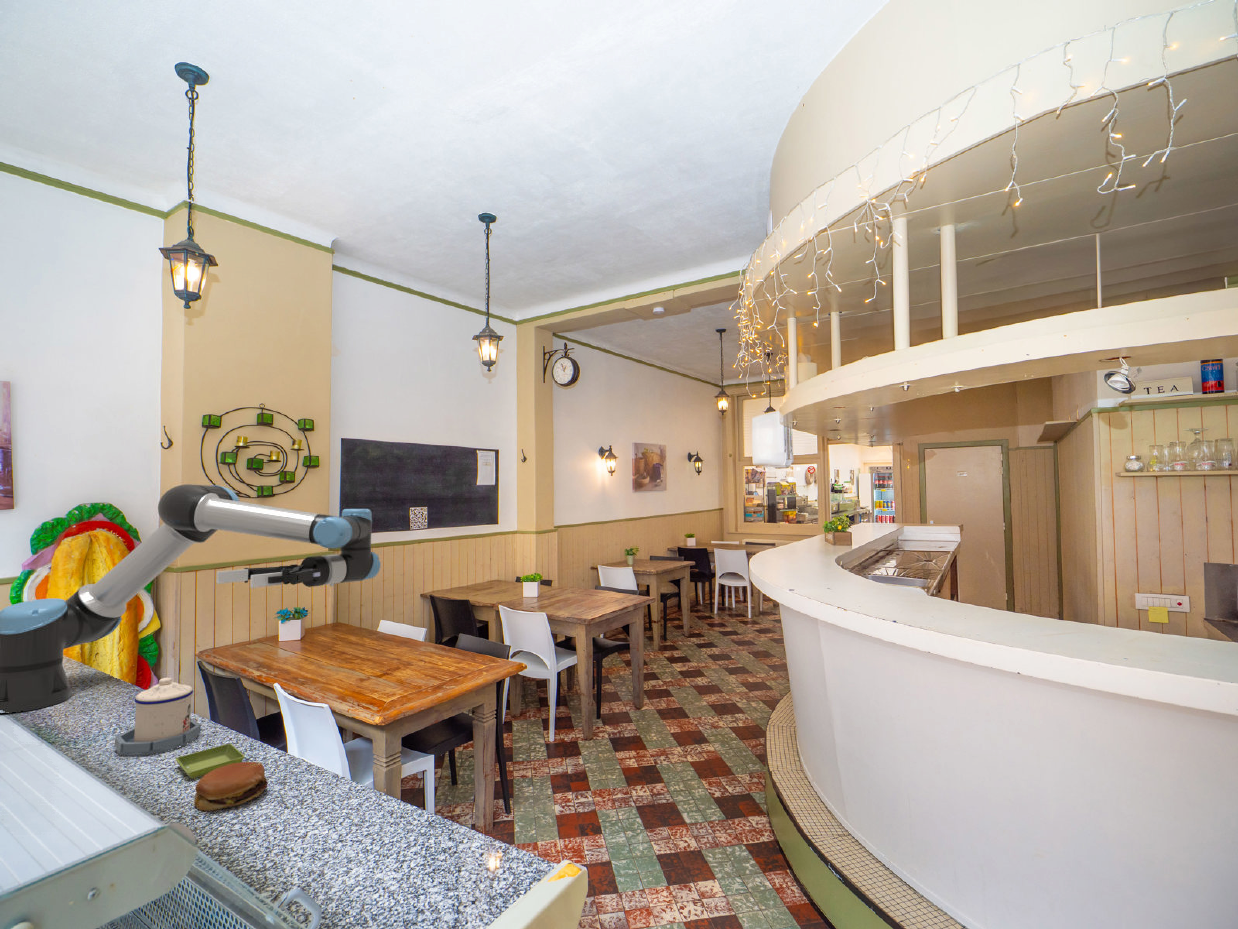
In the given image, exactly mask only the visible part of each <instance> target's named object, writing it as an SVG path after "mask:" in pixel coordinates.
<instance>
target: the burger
mask: <svg viewBox="0 0 1238 929" xmlns="http://www.w3.org/2000/svg"><path fill="white" fill-rule="evenodd" d="M267 788H268V780H267V777H266V776H265V767H264V764H263V763H261V762H257V761H250V762H249V761H241V762H240V763H234V764H229V765H226V766H223V767H220V768H217V769H215V770H213V771H211V772H209V773H207V774H206V775H204V776H201V777H200V779H199V780H198V782H197V784H196V785H195V792H196V793H195V795H194V801H193V803H194V806H195V808H197V810H198V809H199V811H201V812H210V811H212V812H214V811H218V810H222V808H224V809H227V807H228V808H231V807H237V806H240V805H243V803H244V804H245V803H247V801H248V802H249V801H251V800H253V799H255V797H256V798H257V797H260V795H261V794H263V792H264V790H266V789H267ZM236 805H237V806H236ZM230 806H231V807H230ZM217 809H218V810H217ZM203 810H204V811H203ZM213 810H214V811H213Z"/></svg>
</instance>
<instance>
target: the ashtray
mask: <svg viewBox="0 0 1238 929" xmlns="http://www.w3.org/2000/svg"><path fill="white" fill-rule="evenodd" d="M201 726H202V723H200V722H198V721H197V720H195V719H194V718H193V719H192V718H190V730H188V731H186V732H185V733H183V734H181V735H177V736H173V737H169V738H165V739H161V740H157V741H153V742H134V733H135V727H131V728H130V729H128V730H126V731H124V732H122V733H120V734H118V735H116V736H115V737H114V747H115V748H116V754H117V753H118V754H117V755H119V756H122V757H128V756H137V757H146V756H153V754H154V755H157V754H156V753H159V754H163V753H162V752H164V753H166V752H165V751H168V750H171V749H174V750H176V749H175V748H177V747H179V746H183V747H185V746H186V745H185V744H187V743H190V744H192V743H193V742H194V741H195V739H196V740H197V738H199V734H200V733H201ZM192 741H193V742H192ZM184 745H185V746H184ZM171 751H172V750H171ZM168 752H169V751H168Z"/></svg>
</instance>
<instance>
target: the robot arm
mask: <svg viewBox="0 0 1238 929" xmlns="http://www.w3.org/2000/svg"><path fill="white" fill-rule="evenodd" d="M157 514H158V516H159V518H160V520H161V521H162V522H163V523H162V524H161V525H160V526H159V527H158V528H157V529H155V531H154V532H152V533H151V534H150V535H149V536H148V537H147V538H146V539H145V540H143V541H142V542H141V543H140V544H138V546H136V547H135V548H134V549H133V550H131V551H130V552H129V553H128V554H127V555H126V556H125V557H124V558H123V559H122V560H120V561H119V562H118V563H117V564H116V565H115V566H114V567H113V568H112V569H110V570H108V572H107V573H106V574H104V575H103V577H101V578H100V579H99V580H98V581H97V582H96V583H90V584H89V583H88V584H85V585H83V586H81V587H80V588H79V589H78V590H76V592H74V593H73V594H72V595H71V596H70V597H69V598H67V599H66V600H65V599H62V598H56V597H55V598H41V599H34V600H29V601H22V602H18V603H15V604H11V605H9V606H6V607H4V608H3V609H1V610H0V710H3V711H5V712H9V713H8V714H13V713H12V712H16V713H22V712H21V711H23V712H27V711H34V710H39V709H42V708H46V707H51V706H54V705H57V704H60V703H63V702H65V701H66V700H68V699H70V697H71V692H72V691H71V688H72V687H71V684H70V682H69V679H68V676H67V674H66V671H65V669H64V666H63V665H64V664H63V661H64V660H63V658H64V650H65V649H69V648H72V647H76V646H79V645H83V644H88V643H89V644H90V643H93V642H96V641H99V640H100V639H103V638H105V637H106V636H110V634H112V633H113V632H114V631H115V630H116V629H117V628H118V627H119V625H120V623H121V622H122V620H123V619H122V616H123V615H124V614H126V611H127V603H129V601H131V600H132V599H133V598H135V596H136V595H138V594H139V592H141V591H142V590H143V589H144V588H145V587H146V586H148V584H150V583H151V582H152V581H153V580H154V579H155V578H156V577H158V576H159V575H160V574H161V573H162V572H163V571H164V570H165V569H167V568H168V567H169V566H170V565H171V564H172V563H173V562H174V561H175V560H177V559H178V558H179V557H180V556H182V554H183V553H185V552H186V551H187V550H188V549H189V548H190V547H192V545H194V544H203V543H204V542H206V541H207V540H208V539H209V538H210V537H212V536H213V535H214V534H215V533H216V532H217V531H224V532H232V533H239V534H244V535H245V534H246V535H250V536H251V535H252V536H257V537H266V538H271V539H272V538H273V539H280V540H287V541H294V542H299V543H307V544H314V545H318V546H320V547H322V548H324V549H338V548H340V553H339V554H338V553H337V554H336V553H335V554H326V555H315V556H314V555H313V556H307V557H305V558H304V559H303V560H302V561H301V563H300V564H290V565H279V566H269V567H268V566H267V567H264V566H263V567H245V568H243V569H236V570H235V569H233V570H231V569H230V570H222V571H221V570H220V571H217V572H216V584H217V585H220V584H228V583H229V584H230V583H239V582H244V583H245V584H247V583H249V580H250V583H249V584H250V589H254V588H255V589H256V588H263V587H274V586H279V585H289V584H290V585H294V586H295V585H297V584H303V585H304V586H306V587H307V588H308V587H309V588H312V587H319V586H320V587H321V586H327V585H329V586H330V587H334V586H335V584H343V583H352V582H353V583H354V582H361V581H365V580H370V579H373V578H375V577H376V576H377V575H378V574H379V571H380V569H381V560H380V557H379V554H377V553H376V552H374V551H372V527H373V526H372V524H373V518H372V516H373V514H372V511H371V510H370V509H368V508H344V509H343V510H342V511H341V516H336V515H329V514H324V513H323V514H322V513H316V512H308V511H302V510H295V509H289V508H282V507H277V506H276V507H275V506H271V505H263V504H258V503H251V502H245V501H240V498H239V497H238V495H237V494H236V493H235V492H234V491H233V490H232V489H230V488H228V487H226V486H221V485H216V484H212V485H208V484H207V485H206V484H189V483H188V484H179V485H176V486H174V487H172V488H170V489H169V490H167V491H166V492H165V493H164V494H163V495H162V496H161V497H160V499H159V501H158V504H157Z"/></svg>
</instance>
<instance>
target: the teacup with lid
mask: <svg viewBox="0 0 1238 929" xmlns="http://www.w3.org/2000/svg"><path fill="white" fill-rule="evenodd" d="M193 693H194V690H193V688H192V686H191V685H188V684H180V683H178V682H175V681H173V679H172V677H164V678H160V679H159V681H158V683H157V684H155V685H153V686H151V687H150V688H149V689H148V688H147V689H146V690H143V691H141V692H139V693H138V694H137V695H136V696H135V699H134V702H135V715H134V716H135V719H134V728H135V733H134V742H153V741H157V740H161V739H165V738H169V737H173V736H177V735H181V734H183V733H185V732H186V731H188V730H190V719H191V714H192V713H191V710H192V709H191V708H192V694H193Z"/></svg>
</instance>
